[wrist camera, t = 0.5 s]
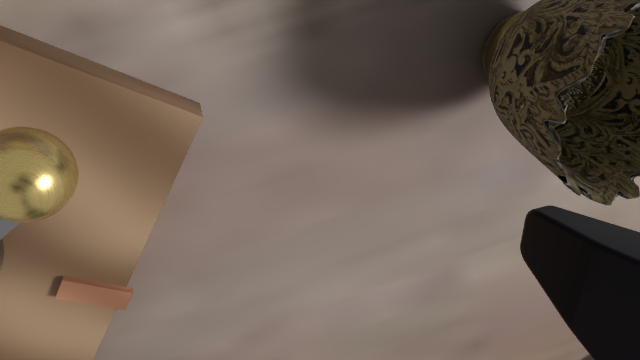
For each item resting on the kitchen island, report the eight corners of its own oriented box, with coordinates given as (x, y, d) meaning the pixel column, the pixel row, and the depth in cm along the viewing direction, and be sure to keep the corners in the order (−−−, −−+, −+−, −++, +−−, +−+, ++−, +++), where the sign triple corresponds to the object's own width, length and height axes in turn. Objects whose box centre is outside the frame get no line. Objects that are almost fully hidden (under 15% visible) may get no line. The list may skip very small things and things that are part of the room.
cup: (456, 146, 24) (570, 238, 18) (421, 9, 20) (553, 62, 14) (582, 80, 25) (741, 146, 18) (573, -68, 21) (774, -54, 14)
